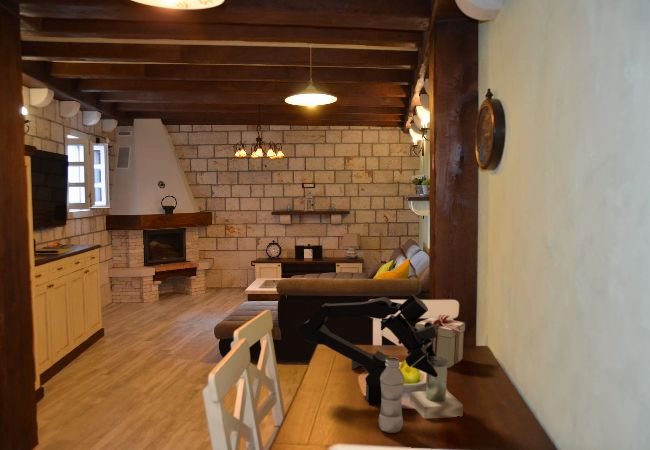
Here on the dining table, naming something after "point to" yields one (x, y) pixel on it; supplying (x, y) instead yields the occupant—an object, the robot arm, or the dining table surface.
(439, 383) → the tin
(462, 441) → the dining table surface
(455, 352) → the gift box
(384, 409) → the plastic bottle
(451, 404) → the base block
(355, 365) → the open flap box
